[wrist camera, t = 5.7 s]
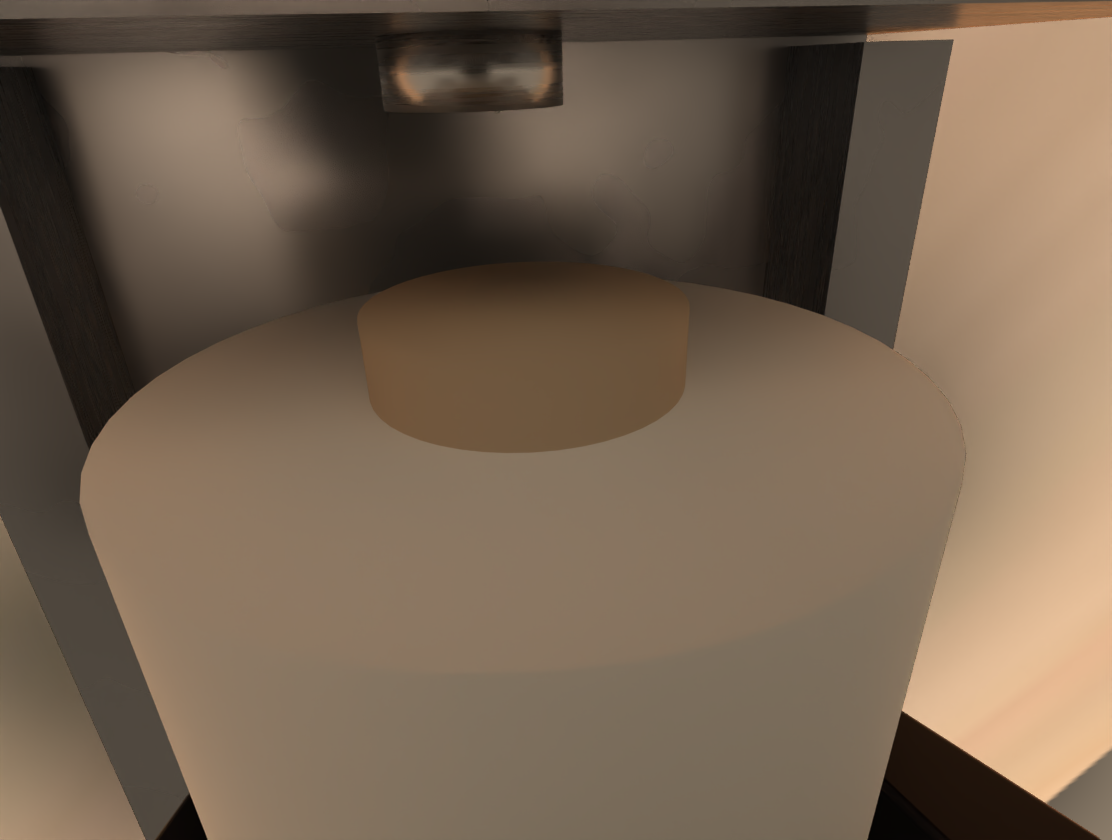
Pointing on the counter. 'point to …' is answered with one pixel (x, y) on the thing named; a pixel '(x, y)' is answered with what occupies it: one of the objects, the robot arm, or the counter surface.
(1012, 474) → the counter surface
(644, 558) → the roll
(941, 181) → the counter surface
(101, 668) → the holder
